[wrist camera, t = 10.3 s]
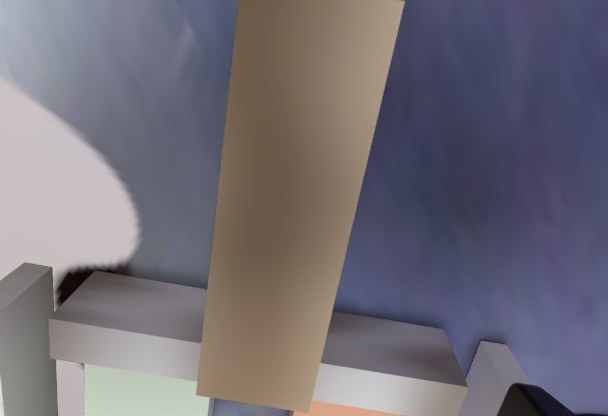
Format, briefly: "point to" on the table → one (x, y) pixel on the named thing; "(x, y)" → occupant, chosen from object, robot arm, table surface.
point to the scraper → (279, 238)
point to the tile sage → (141, 394)
